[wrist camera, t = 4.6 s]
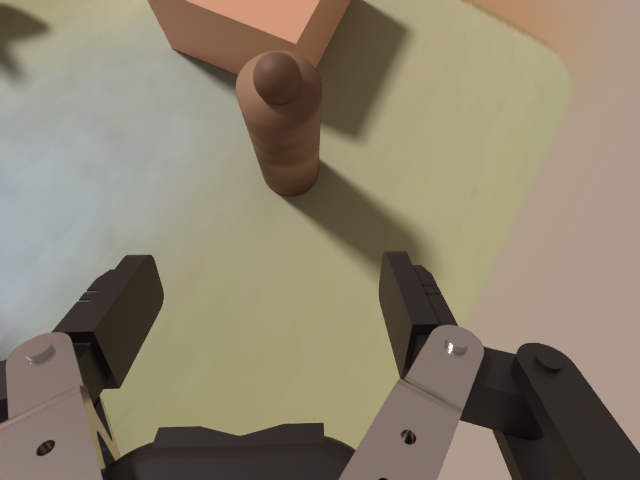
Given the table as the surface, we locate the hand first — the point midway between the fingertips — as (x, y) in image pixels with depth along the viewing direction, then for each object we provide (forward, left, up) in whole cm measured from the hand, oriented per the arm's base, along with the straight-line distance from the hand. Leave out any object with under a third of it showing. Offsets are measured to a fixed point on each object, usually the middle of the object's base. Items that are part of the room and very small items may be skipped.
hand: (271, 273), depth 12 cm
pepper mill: (-4, +9, -13) cm, 17 cm away
